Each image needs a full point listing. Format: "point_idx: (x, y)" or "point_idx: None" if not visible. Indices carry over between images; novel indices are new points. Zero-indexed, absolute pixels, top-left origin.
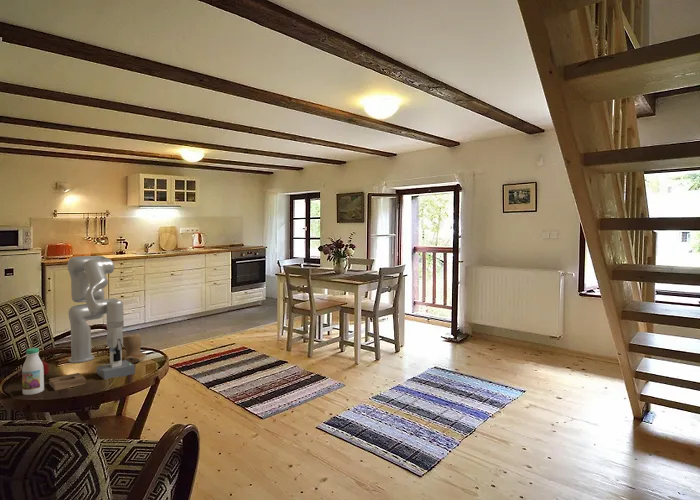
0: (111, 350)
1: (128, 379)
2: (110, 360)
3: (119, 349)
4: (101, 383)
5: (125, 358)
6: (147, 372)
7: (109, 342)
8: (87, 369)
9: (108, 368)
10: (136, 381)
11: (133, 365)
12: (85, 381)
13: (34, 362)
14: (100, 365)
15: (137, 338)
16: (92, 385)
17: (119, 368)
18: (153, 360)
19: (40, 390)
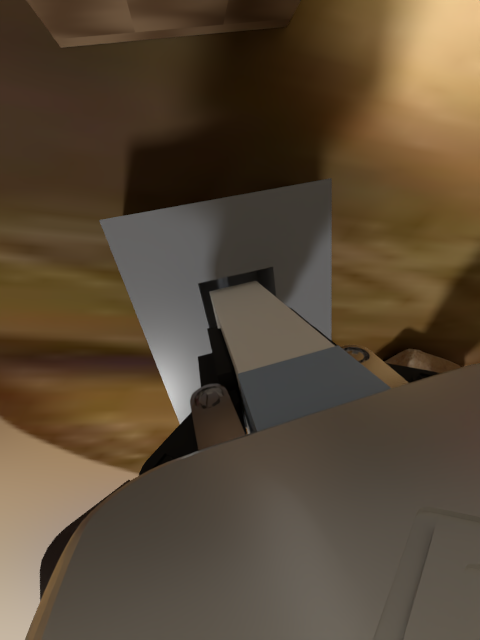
0: (253, 386)
1: (74, 355)
2: (265, 301)
3: (53, 552)
4: (51, 188)
5: (418, 363)
6: (167, 433)
7: (463, 572)
8: (456, 148)
9: (190, 264)
10: (5, 392)
11: (178, 418)
12: (42, 20)
13: None
14: (327, 212)
15: None
16: (17, 106)
17: (147, 340)
18: None
19: None
